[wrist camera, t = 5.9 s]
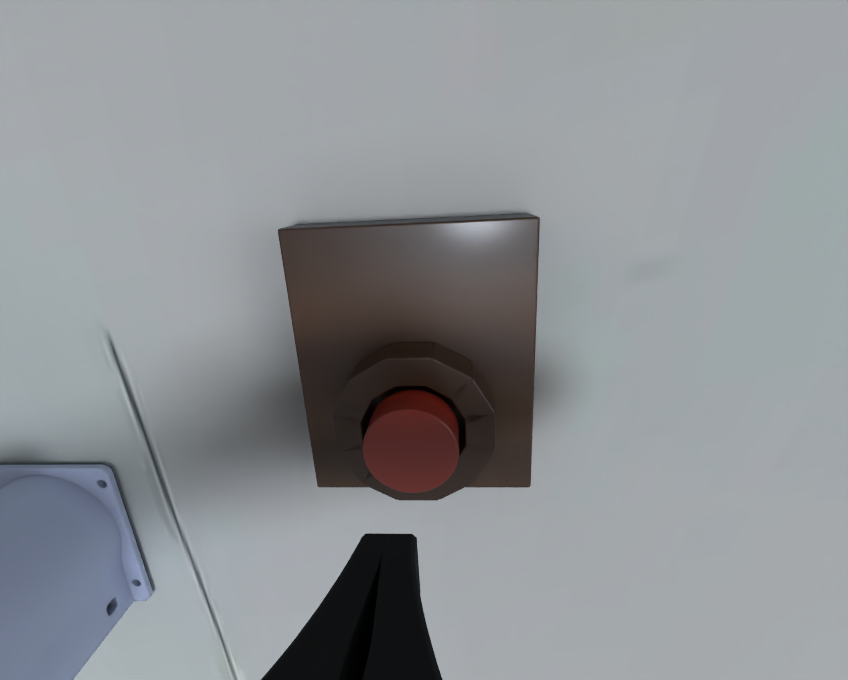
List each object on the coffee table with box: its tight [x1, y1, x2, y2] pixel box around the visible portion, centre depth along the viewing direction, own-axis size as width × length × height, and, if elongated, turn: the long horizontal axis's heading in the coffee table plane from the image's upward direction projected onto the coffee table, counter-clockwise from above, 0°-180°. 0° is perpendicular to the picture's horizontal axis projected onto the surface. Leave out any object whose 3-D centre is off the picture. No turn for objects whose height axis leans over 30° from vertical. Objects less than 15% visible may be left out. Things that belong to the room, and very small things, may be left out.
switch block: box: [278, 213, 540, 500], centre depth 19 cm, size 12×10×4 cm
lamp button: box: [362, 390, 459, 493], centre depth 17 cm, size 4×4×2 cm
